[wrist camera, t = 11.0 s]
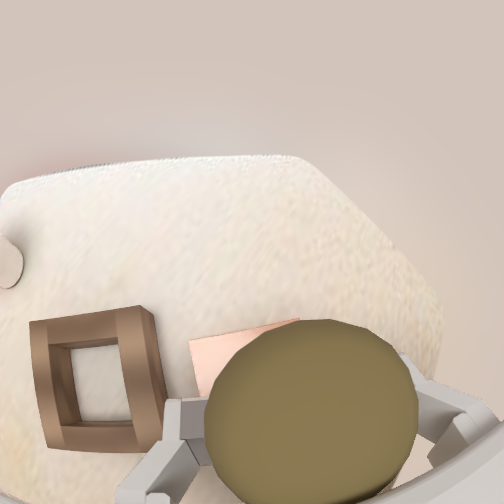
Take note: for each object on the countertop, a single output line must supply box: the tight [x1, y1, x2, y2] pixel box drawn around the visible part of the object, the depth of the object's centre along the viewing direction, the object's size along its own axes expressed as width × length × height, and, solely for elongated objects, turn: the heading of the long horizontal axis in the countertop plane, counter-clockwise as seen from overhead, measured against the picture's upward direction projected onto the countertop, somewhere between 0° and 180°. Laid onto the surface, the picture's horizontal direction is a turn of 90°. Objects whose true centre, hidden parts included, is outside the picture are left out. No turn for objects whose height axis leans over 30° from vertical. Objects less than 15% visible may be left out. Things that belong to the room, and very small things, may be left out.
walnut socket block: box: [29, 305, 168, 453], centre depth 21 cm, size 12×12×4 cm
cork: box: [204, 319, 419, 504], centre depth 9 cm, size 6×6×11 cm
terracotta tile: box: [189, 318, 300, 397], centre depth 23 cm, size 10×10×1 cm
